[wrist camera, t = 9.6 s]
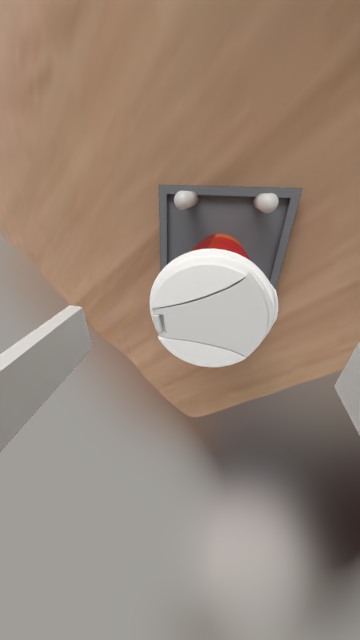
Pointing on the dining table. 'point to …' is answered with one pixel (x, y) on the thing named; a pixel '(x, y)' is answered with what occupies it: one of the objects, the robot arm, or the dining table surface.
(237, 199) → the tray
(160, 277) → the coffee cup
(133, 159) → the dining table surface
